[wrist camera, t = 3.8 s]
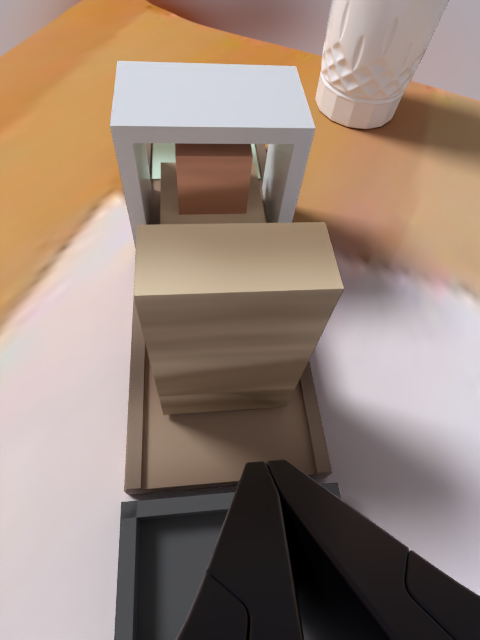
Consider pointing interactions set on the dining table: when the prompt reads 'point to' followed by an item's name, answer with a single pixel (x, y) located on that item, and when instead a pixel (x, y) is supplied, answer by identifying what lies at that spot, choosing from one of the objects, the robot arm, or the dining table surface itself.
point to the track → (211, 427)
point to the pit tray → (166, 561)
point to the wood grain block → (228, 287)
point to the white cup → (372, 57)
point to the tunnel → (211, 123)
